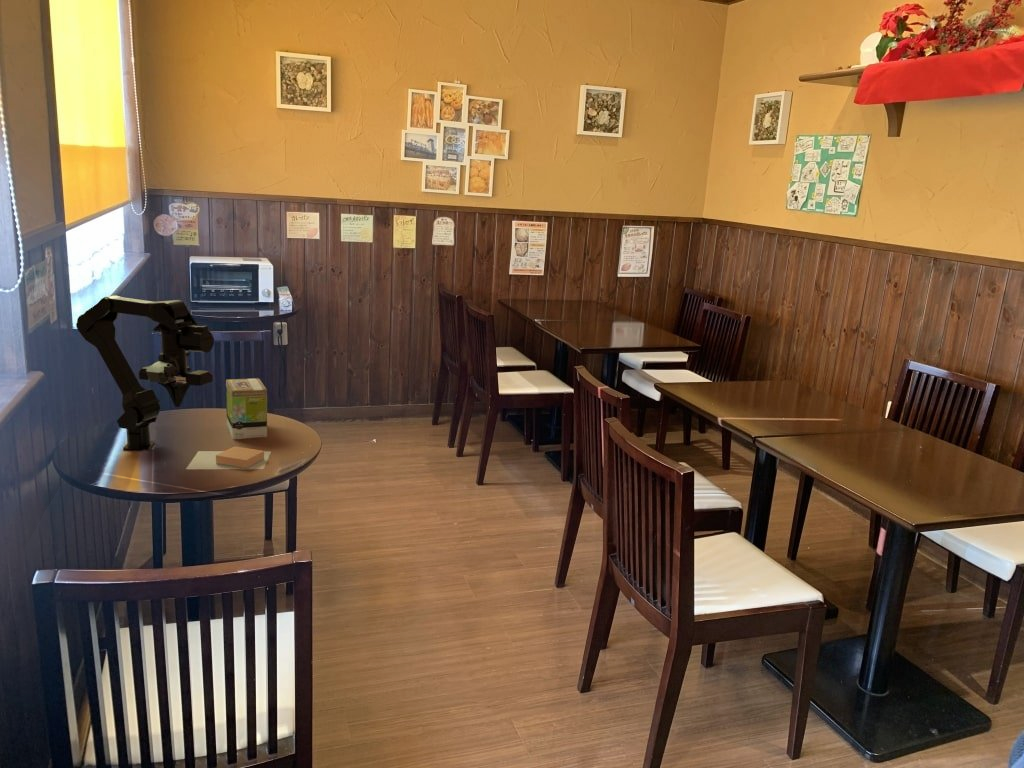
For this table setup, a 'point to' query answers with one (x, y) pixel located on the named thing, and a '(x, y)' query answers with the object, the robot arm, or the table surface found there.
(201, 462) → the mat
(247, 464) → the tile
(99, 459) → the table surface
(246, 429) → the tea box
